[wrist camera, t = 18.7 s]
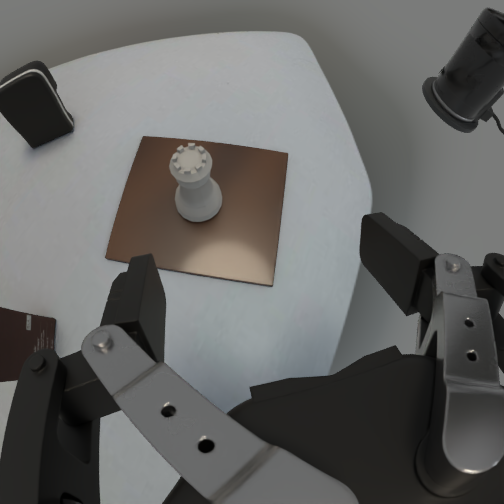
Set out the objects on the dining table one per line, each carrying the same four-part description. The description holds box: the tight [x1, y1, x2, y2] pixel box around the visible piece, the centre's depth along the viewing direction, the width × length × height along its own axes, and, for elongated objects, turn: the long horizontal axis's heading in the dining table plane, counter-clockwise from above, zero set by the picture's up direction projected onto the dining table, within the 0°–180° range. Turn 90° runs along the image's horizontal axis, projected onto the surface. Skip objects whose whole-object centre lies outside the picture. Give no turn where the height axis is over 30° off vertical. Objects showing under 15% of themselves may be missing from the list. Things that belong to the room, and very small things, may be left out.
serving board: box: [105, 136, 288, 287], centre depth 29 cm, size 16×14×1 cm
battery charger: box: [0, 61, 74, 148], centre depth 25 cm, size 7×4×11 cm, turn 107°
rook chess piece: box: [169, 143, 222, 222], centre depth 25 cm, size 4×4×8 cm
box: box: [0, 307, 56, 382], centre depth 19 cm, size 6×4×12 cm
